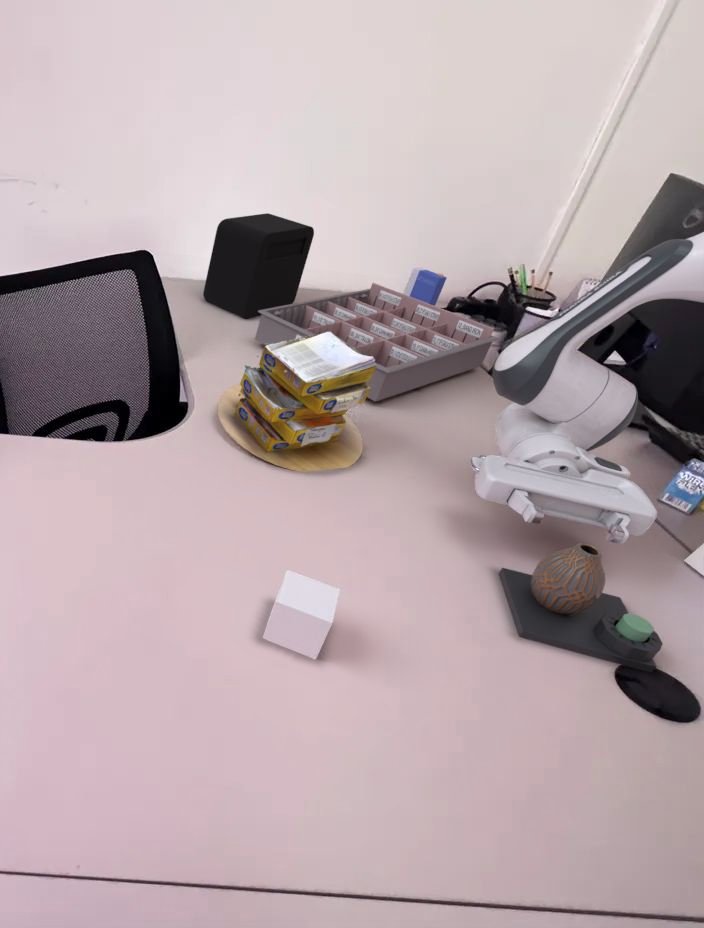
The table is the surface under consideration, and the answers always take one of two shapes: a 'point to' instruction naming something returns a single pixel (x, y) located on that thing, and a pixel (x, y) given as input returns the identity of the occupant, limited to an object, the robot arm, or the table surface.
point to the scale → (577, 626)
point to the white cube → (302, 614)
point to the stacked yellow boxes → (300, 404)
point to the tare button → (634, 628)
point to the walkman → (425, 285)
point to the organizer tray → (386, 335)
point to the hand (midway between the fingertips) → (576, 529)
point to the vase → (569, 579)
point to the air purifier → (256, 263)
